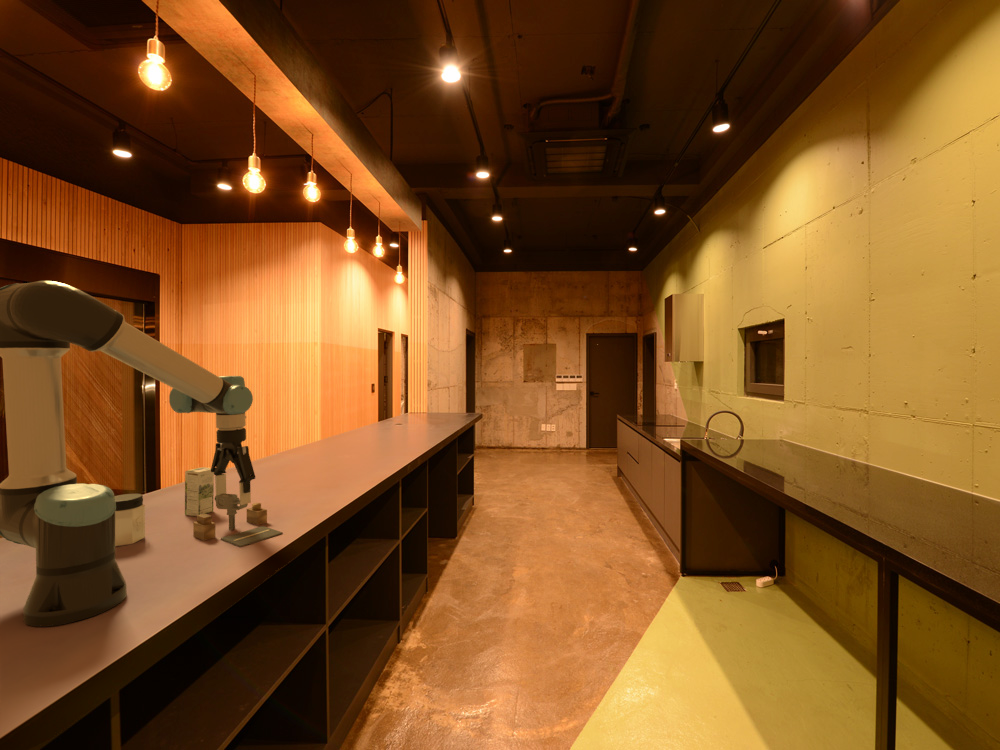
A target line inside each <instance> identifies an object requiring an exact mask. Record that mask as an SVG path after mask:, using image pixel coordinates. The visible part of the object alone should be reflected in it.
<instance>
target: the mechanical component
mask: <svg viewBox="0 0 1000 750" xmlns="http://www.w3.org/2000/svg"><path fill="white" fill-rule="evenodd" d="M214 501H215V507H216V509H218V510H226V511H227V512H226V515H227V516H228V531H233V530H235V529H236V514H237V513H238V512H237V511H239V510H242V509H244V508H247V507H248V505H249V503H247V504H243V505H240V497H238V494H237V493H226V494H220V495H216V494H215V496H214Z"/></svg>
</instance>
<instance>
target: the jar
mask: <svg viewBox="0 0 1000 750" xmlns="http://www.w3.org/2000/svg"><path fill="white" fill-rule="evenodd" d="M143 497H144V496H143V494H141V493H126V494H119V495H114V498H115V502H116V510H115V547H121V546H127V545H133V544H135V543H137V542H139V541H140V540H143V539H145V538H146V526H145V525H146V522H145V520H146V517H145V516H146V513H145V512H146V511H145V509H146V508H145V507H146V505H145V504H144V498H143Z"/></svg>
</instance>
